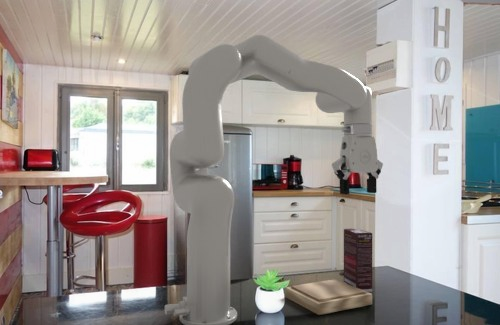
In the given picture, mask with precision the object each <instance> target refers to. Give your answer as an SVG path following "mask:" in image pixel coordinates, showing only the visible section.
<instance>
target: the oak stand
mask: <svg viewBox="0 0 500 325" xmlns="http://www.w3.org/2000/svg"><path fill="white" fill-rule="evenodd" d="M285 298H286V299H288V300H290V301H292V302H294V303H295V304H298V305H300V306H301V307H303V308H305V309H306V310H309V311H311V312H312V313H314V314H316V315H326V314H331V313H335V312H340V311H345V310H350V309H355V308H356V309H357V308H361V307H366V306H370V305H371V306H372V305H373V293H372V292H366V291H364V290H361V289H359V288H356V287H354V286H351V285H348V284H346V283H344V281H340V280H337V279H328V280H322V281H321V280H320V281H315V282H308V283H302V284H295V285H291V286H287V287H285Z"/></svg>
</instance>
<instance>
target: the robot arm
mask: <svg viewBox="0 0 500 325" xmlns="http://www.w3.org/2000/svg"><path fill="white" fill-rule="evenodd" d="M256 74H258V75H260V76H262V77H264V78H266V79H268V80H269V81H272V82H273V83H275V84H277V85H278V86H280V87H283V88H284V89H286V90H288V91H290V92H291V91H293V92H296V93H297V92H299V93H316V95H315V103H316V106H317V109H319V110H320V111H322V112H323V113H327V114H334V113H343V126H342V127H341V132H343V136H342V138H341V144H340V153H339V158H338V159H337V160H335V161H334V162H332V163H331V167H332V169H333V171H334V174H335V176H336V177H337V180H339V194H340V195H347V196H348V195H349V194H350V180H349V179H348V178H349V177H350V175H351V174H352V173H365V175H366V176H367V177H368V178H366V193H368V194H377V190H378V189H377V179H378V178H379V176H380V174H381V172H382V169H383V166H384V163H383V162H381V161H380V160H379V159H378V149H377V143H376V139H375V137H374V136H373V116H372V115H373V112H372V110H373V108H372V107H373V106H372V105H373V103H372V101H373V100H372V99H373V97H372V96H373V95H372V94H373V93H372V90H371V88H370V87H368V86H365V85H364V84H363V83H362V81H361V80H359V79H358V78H357V77H355V76H354V75H352V74H350V73H349V72H348V71H346V70H344V69H342V68H339V67H336V66H333V65H330V64H325V63H322V62H318V61H313V60H308V59H305V58H304V57H302V56H301V55H298V54H297V53H295V52H294V51H292V50H290V49H289V48H287V47H285V46H284V45H281V43H278V42H277V41H275V40H274V39H272V38H270V37H268V36H266V35H263V34H256V35H252V36H250V37H248V38H246V39H245V40H243V41H240V42H239V43H237V44H235V45H232V44H227V43H225V44H219V45H216V46H214V47H212V48H211V49H209V50H208V51H206V52H205V53H203V54H202V55H200V56H198V57H196V58H195V59H194V60H193V61H192V62H191V63H190V65H189V68H188V76H187V79H186V81H185V84H184V88H183V92H182V101H181V103H182V125H183V126H182V127H183V129H182V130H179V131H178V132H177V133H176V134H175V135H174V136H173V138H172V140H171V142H170V147H169V165H170V176H171V186H172V194H173V198H174V201H175V204H176V206H177V207H178V208H179V209H180V210H182V211H183V212H185V213H187V214H190V215H189V216H190V217H189V222H188V226H187V232H186V296H182V300H181V301H178V303H169V304H165V305H164V313H165V315H170V314H173V316H174V317H177V316H178V317H179V321H180V323H181V324H183V325H232V323H234V322H235V321H236V320H237V319H238V312H237V311H238V310H236V309H235V307H232V306H231V230H232V229H231V227H232V219H233V218H232V217H233V213H234V207H235V192H234V190H233V187H232V185H231V184H230V183H229V182H228V181H227V179H225V178H224V177H222V176H219V175H218V174H212V173H211V174H210V173H209V169H211V168H213V167H216V166H217V165H219V164H220V163H221V162H222V160H223V158H224V156H225V140H224V139H225V138H224V129H223V128H224V126H223V116H222V103H223V102H222V101H223V97H224V93H225V91H226V89H227V88H228V87H229V85H231V84H234V83H237V82H239V81H241V80H243V79H246V78H248V77H251V76H253V75H256Z"/></svg>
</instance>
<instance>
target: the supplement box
mask: <svg viewBox="0 0 500 325" xmlns="http://www.w3.org/2000/svg"><path fill="white" fill-rule="evenodd" d="M343 283H346V284H348V285H351V286H354V287H356V288H359V289H361V290H364V291H366V292H368V293H372V292H373V232H370V231H367V230H365V229H364V230H363V229H362V228H361V229H360V228H343Z"/></svg>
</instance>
